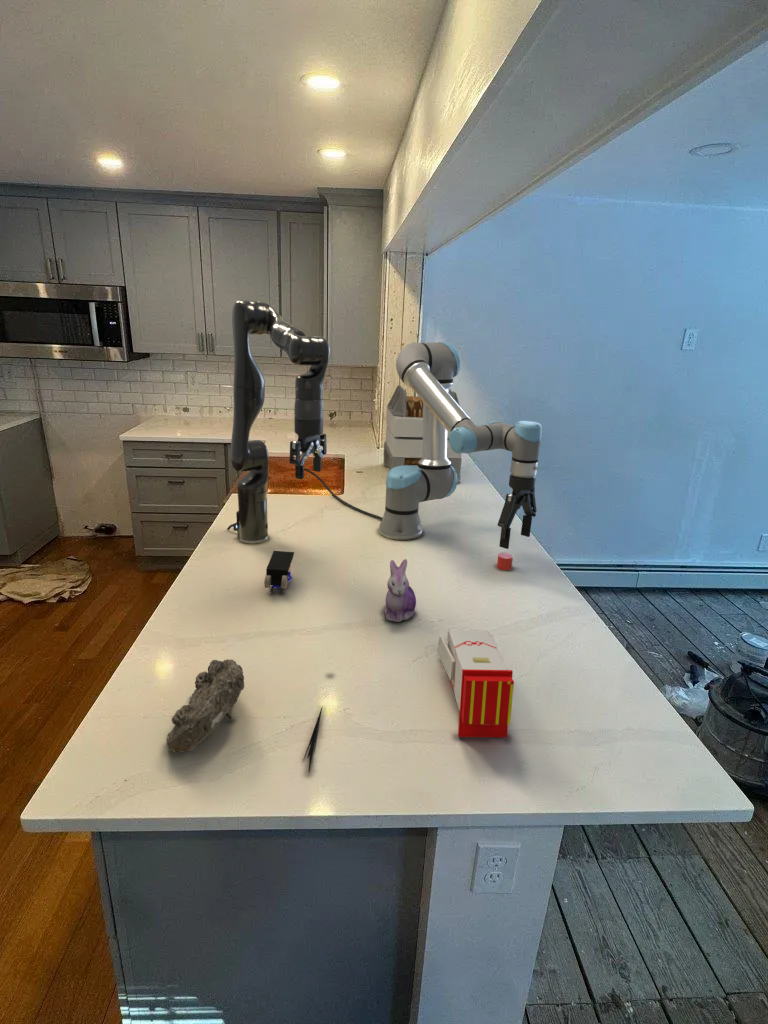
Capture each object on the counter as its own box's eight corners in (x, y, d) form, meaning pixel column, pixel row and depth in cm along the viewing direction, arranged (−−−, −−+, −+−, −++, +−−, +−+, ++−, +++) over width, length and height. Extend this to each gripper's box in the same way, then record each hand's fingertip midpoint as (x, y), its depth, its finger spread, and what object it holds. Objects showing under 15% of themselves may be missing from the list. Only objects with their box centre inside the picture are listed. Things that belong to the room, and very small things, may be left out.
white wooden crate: (382, 463, 289) (386, 382, 275) (445, 464, 293) (451, 384, 279) (390, 482, 257) (394, 392, 243) (460, 483, 261) (468, 394, 247)
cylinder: (500, 571, 175) (502, 559, 173) (494, 564, 179) (495, 553, 178) (514, 569, 176) (515, 558, 175) (507, 563, 180) (508, 552, 179)
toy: (488, 613, 130) (523, 677, 101) (484, 667, 133) (517, 744, 104) (435, 612, 130) (455, 676, 101) (432, 666, 133) (451, 743, 103)
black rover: (288, 601, 154) (295, 571, 167) (287, 577, 151) (294, 549, 164) (263, 600, 154) (272, 570, 167) (262, 576, 150) (271, 548, 164)
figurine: (392, 627, 141) (395, 572, 136) (374, 608, 149) (376, 556, 144) (425, 619, 145) (429, 566, 140) (405, 601, 154) (408, 550, 149)
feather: (331, 679, 122) (336, 673, 122) (307, 777, 96) (313, 769, 95) (324, 675, 122) (329, 669, 121) (298, 772, 95) (304, 764, 95)
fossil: (192, 660, 117) (244, 628, 112) (224, 691, 120) (276, 661, 115) (142, 746, 98) (202, 712, 93) (182, 779, 101) (242, 748, 96)
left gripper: (311, 410, 156) (311, 466, 162) (280, 417, 144) (281, 478, 150) (335, 413, 153) (334, 471, 159) (305, 421, 141) (305, 483, 147)
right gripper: (514, 485, 155) (505, 556, 162) (553, 469, 174) (544, 534, 181) (490, 480, 160) (483, 549, 167) (530, 465, 178) (522, 528, 185)
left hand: (308, 474), depth 154 cm, fingers open, 8 cm apart
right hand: (514, 541), depth 174 cm, fingers open, 13 cm apart
